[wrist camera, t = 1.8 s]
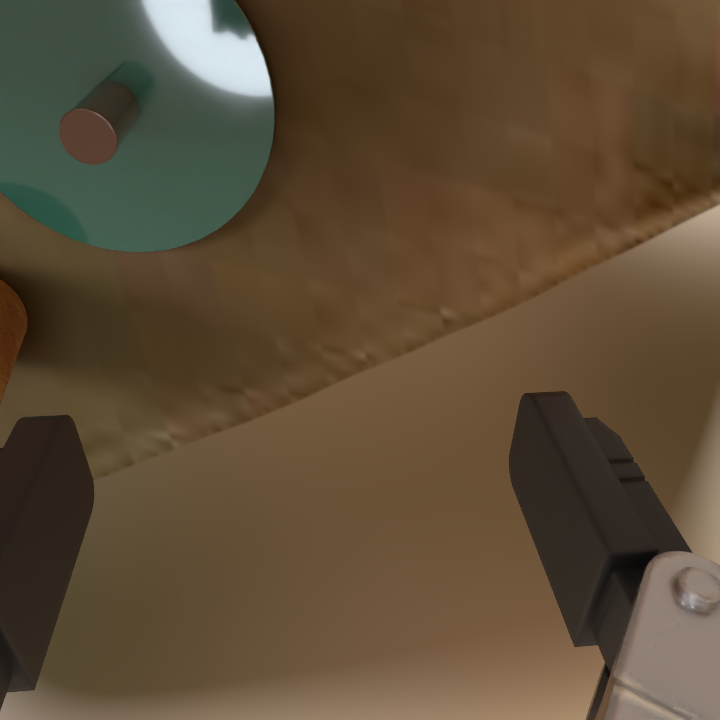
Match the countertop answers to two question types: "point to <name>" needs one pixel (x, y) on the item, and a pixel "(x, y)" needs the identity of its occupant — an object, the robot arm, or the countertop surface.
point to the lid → (132, 117)
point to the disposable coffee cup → (10, 331)
